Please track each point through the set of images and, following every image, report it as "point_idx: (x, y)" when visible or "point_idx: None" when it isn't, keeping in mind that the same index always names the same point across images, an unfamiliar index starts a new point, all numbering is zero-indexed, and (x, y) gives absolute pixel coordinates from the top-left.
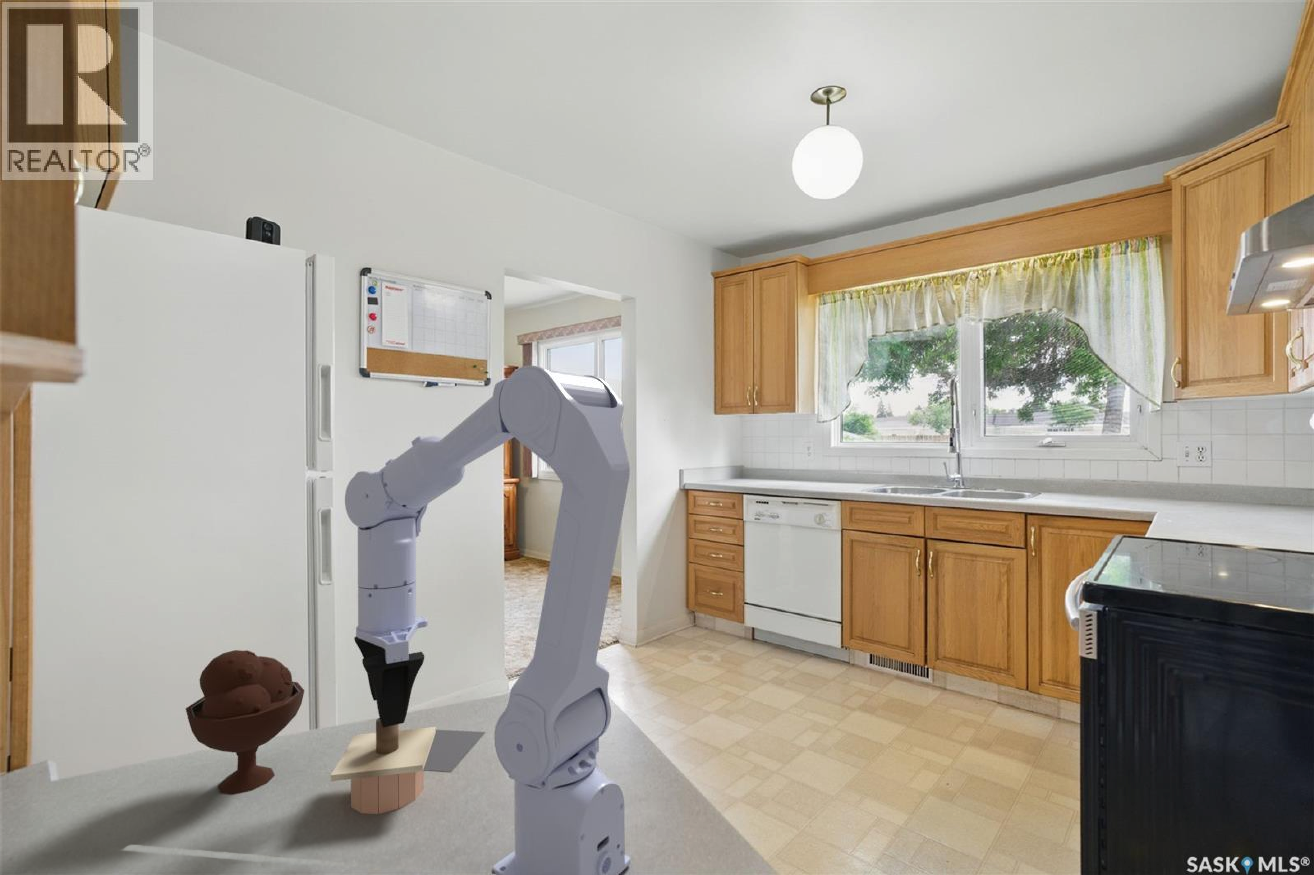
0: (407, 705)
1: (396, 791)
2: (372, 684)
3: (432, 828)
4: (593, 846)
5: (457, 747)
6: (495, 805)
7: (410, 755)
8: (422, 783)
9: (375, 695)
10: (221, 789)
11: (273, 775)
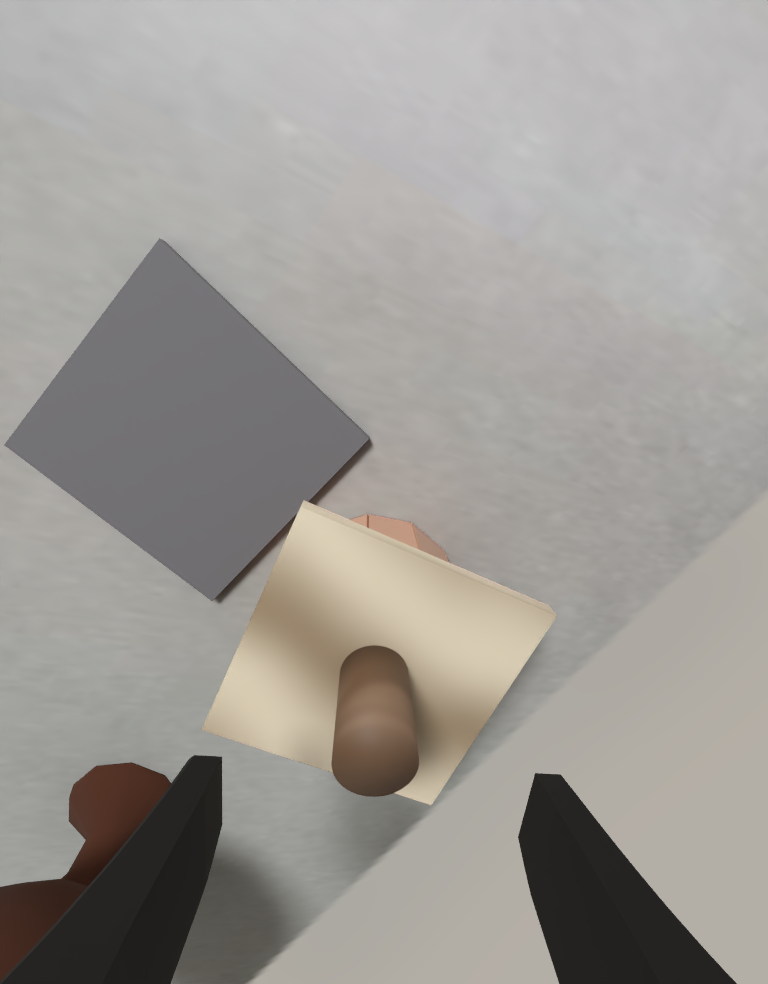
0: (618, 850)
1: None
2: (188, 927)
3: (566, 543)
4: None
5: (225, 371)
6: (591, 390)
7: (466, 630)
8: (420, 537)
9: (213, 844)
10: None
11: (131, 776)
